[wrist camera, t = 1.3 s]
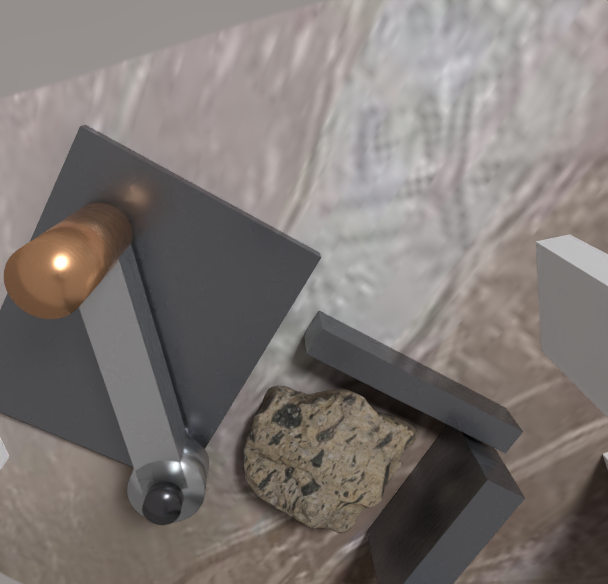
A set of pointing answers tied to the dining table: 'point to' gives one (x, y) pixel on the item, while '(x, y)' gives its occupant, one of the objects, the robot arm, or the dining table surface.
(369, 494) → the rock
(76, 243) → the lever
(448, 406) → the cracker base
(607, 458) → the milk
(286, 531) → the dining table surface
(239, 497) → the dining table surface
